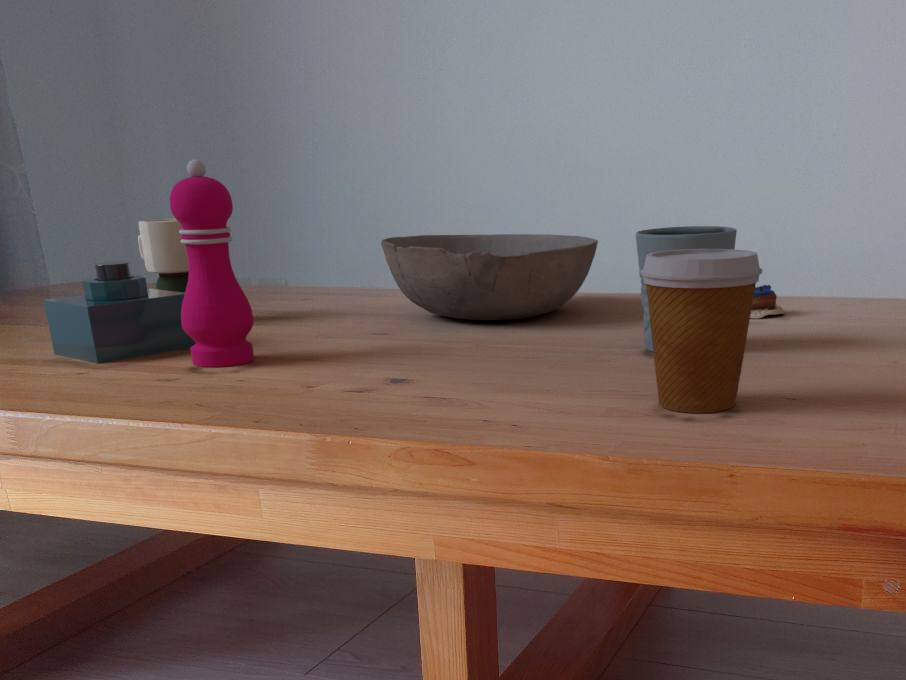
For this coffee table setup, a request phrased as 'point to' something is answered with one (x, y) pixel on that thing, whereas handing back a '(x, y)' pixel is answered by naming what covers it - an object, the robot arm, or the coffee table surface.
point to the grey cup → (677, 240)
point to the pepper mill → (210, 273)
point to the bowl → (489, 272)
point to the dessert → (764, 302)
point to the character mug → (164, 253)
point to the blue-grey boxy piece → (117, 321)
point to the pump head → (112, 271)
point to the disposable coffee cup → (699, 324)
